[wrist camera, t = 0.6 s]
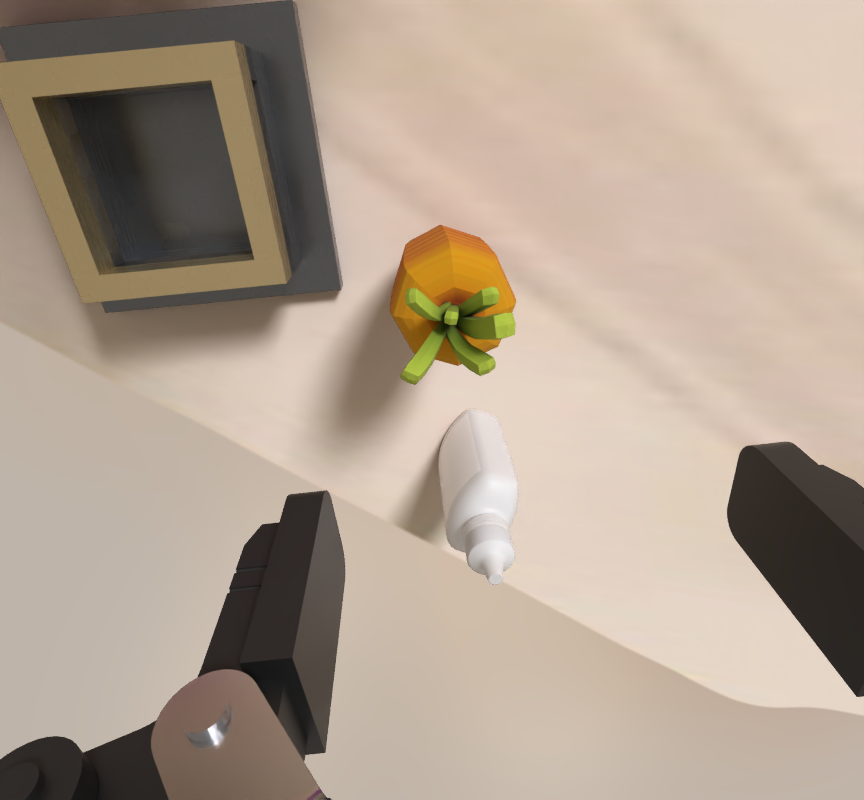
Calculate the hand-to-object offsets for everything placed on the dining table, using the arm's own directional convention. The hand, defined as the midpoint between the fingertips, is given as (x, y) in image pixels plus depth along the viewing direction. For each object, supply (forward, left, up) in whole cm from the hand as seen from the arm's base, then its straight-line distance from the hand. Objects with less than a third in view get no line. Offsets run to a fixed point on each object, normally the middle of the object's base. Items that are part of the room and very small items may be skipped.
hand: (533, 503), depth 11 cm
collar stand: (-5, -13, -22) cm, 26 cm away
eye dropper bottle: (+13, 0, -22) cm, 26 cm away
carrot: (0, -1, -22) cm, 22 cm away
